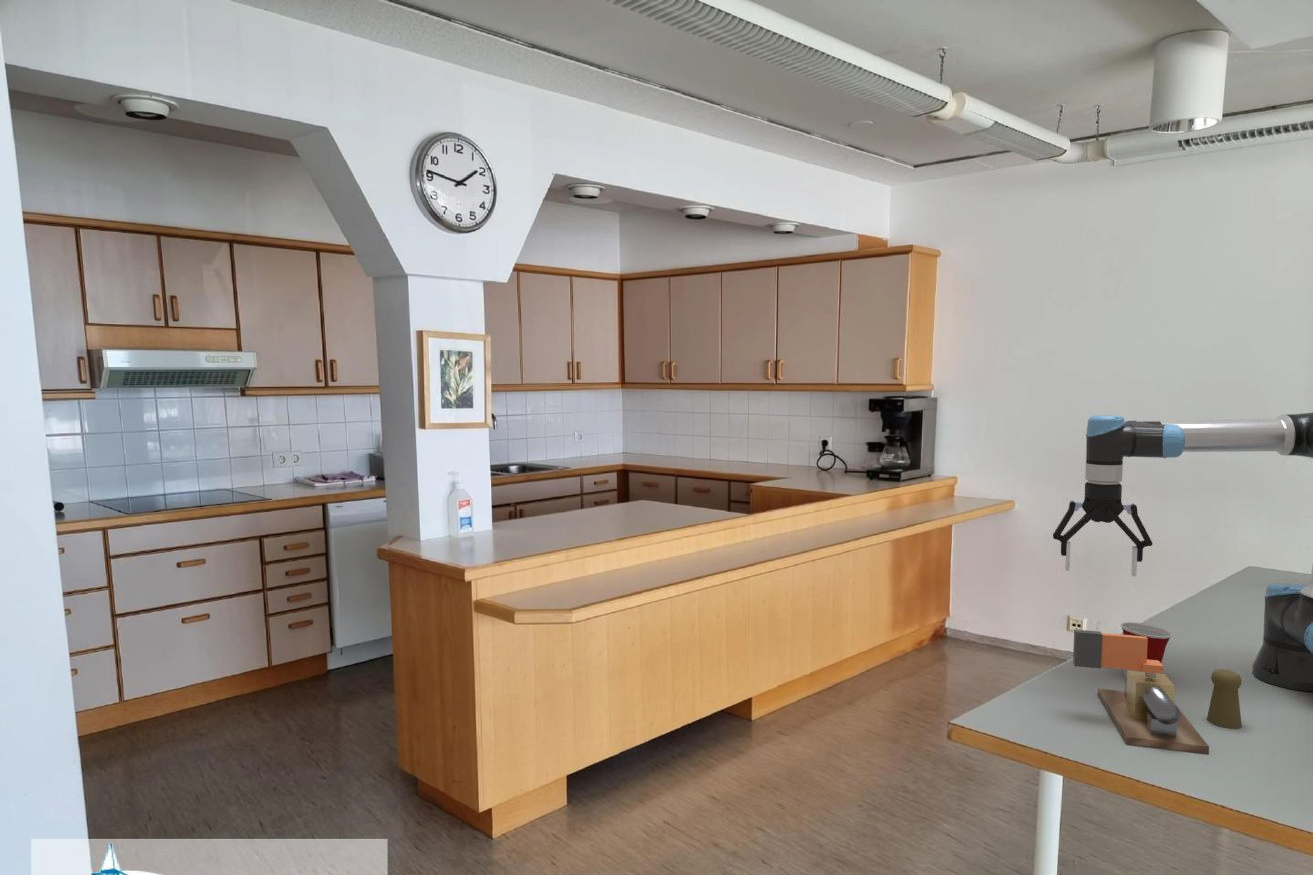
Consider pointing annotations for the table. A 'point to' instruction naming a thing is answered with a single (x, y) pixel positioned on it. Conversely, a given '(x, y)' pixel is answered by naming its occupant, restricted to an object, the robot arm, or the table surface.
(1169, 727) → the valve body
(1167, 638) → the plastic cup
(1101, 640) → the valve lever
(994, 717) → the table surface
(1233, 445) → the robot arm
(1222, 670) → the cork
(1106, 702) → the mounting board
